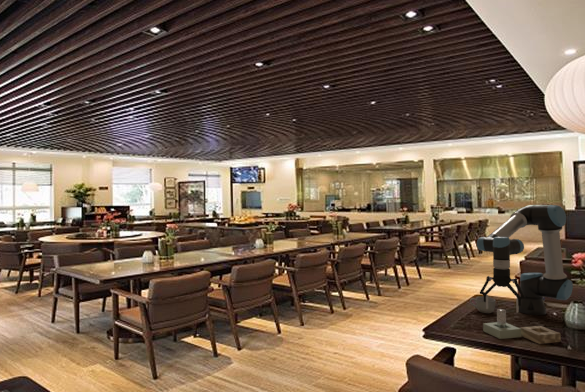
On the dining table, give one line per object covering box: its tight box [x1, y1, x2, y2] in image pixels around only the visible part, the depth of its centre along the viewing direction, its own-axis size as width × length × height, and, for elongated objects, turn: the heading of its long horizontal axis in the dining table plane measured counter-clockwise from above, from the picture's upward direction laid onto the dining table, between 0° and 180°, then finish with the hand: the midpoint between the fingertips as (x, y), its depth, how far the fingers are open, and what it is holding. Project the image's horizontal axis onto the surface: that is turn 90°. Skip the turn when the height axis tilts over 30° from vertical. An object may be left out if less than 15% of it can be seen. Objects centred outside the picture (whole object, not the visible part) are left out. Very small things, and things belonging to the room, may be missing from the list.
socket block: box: [482, 321, 522, 340], centre depth 208 cm, size 12×12×4 cm
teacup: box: [469, 296, 496, 314], centre depth 249 cm, size 14×11×8 cm
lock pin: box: [496, 308, 507, 328], centre depth 208 cm, size 4×4×12 cm
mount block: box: [519, 325, 562, 345], centre depth 202 cm, size 12×12×4 cm
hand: (502, 310), depth 209 cm, fingers open, 13 cm apart
